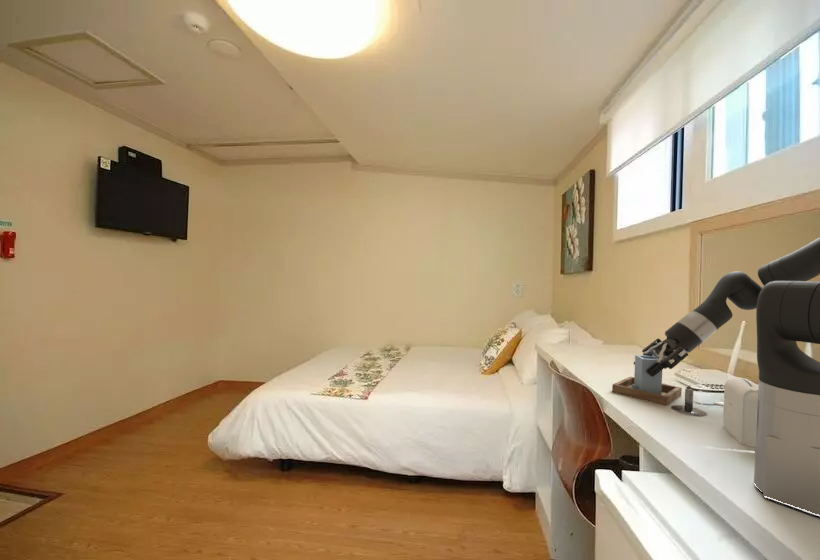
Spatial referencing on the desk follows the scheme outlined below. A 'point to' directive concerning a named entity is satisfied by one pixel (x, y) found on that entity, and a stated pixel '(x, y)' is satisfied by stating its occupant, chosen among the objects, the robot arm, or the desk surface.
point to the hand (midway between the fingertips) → (642, 369)
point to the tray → (665, 398)
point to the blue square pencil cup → (646, 375)
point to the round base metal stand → (688, 406)
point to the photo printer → (741, 409)
